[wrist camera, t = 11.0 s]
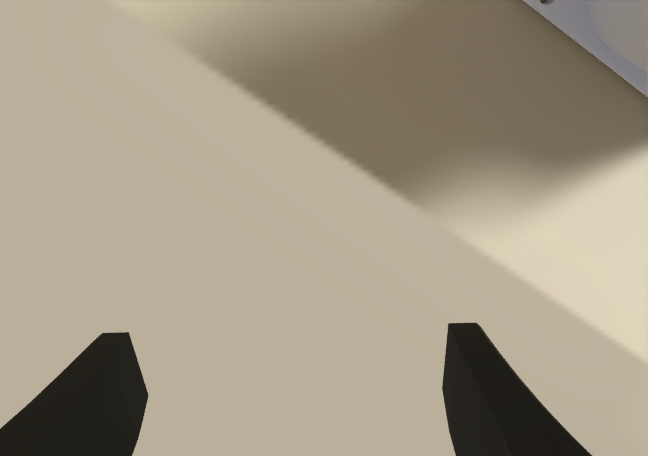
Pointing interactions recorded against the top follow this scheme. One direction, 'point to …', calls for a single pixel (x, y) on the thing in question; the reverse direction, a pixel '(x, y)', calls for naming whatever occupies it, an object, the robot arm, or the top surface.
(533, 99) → the top surface
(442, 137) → the top surface
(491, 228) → the top surface
